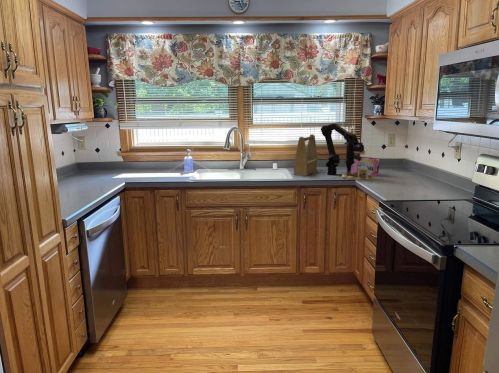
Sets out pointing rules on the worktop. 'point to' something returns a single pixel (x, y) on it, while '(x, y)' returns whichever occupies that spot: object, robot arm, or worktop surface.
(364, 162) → the gum box
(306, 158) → the caddy
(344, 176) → the board
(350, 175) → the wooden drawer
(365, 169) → the tunnel
